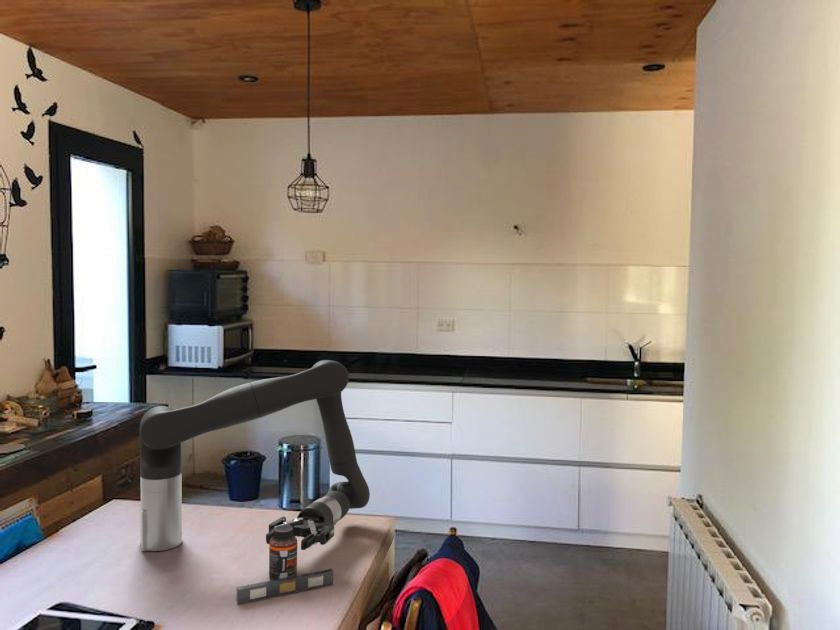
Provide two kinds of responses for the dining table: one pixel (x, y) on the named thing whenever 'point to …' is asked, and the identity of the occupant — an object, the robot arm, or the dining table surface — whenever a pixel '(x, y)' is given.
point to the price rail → (284, 586)
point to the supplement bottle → (282, 553)
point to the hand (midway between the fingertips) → (285, 542)
